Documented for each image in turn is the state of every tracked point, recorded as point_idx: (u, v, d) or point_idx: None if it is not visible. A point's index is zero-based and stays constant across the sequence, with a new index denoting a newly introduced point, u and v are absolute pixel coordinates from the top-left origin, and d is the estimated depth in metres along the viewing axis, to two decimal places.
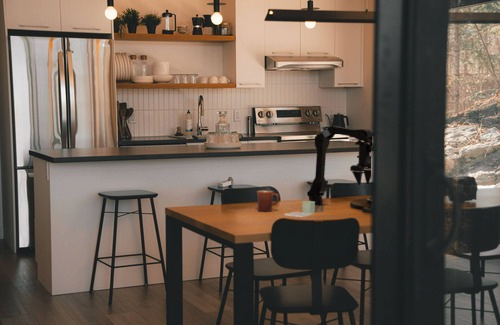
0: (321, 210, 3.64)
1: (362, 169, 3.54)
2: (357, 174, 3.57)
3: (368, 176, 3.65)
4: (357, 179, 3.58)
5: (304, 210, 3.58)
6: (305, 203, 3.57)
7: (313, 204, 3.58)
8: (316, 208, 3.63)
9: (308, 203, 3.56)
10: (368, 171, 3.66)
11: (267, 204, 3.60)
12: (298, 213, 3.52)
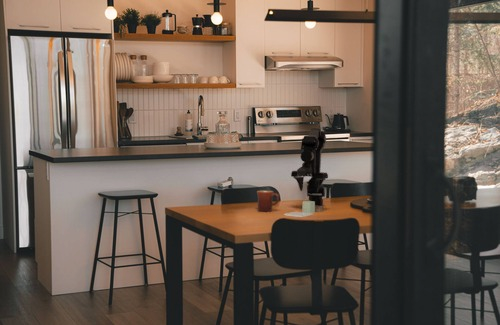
0: (321, 210, 3.64)
1: (293, 174, 3.60)
2: None
3: None
4: None
5: (304, 210, 3.58)
6: (305, 203, 3.57)
7: (313, 204, 3.58)
8: (316, 208, 3.63)
9: (308, 203, 3.56)
10: None
11: (267, 204, 3.60)
12: (298, 213, 3.52)
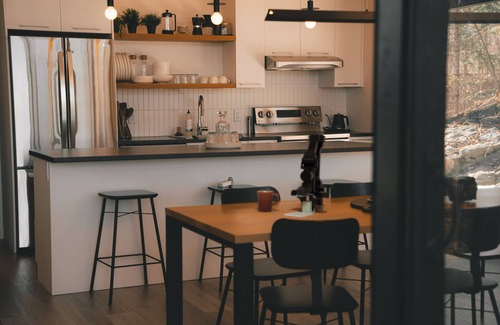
0: (321, 210, 3.65)
1: (293, 193, 3.60)
2: None
3: None
4: None
5: (304, 210, 3.58)
6: (305, 203, 3.57)
7: None
8: (316, 208, 3.63)
9: (308, 203, 3.56)
10: None
11: (267, 204, 3.60)
12: (298, 213, 3.52)
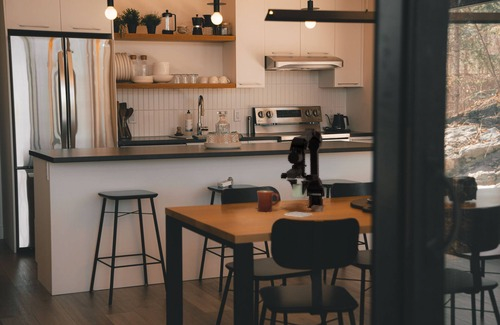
0: (321, 210, 3.65)
1: (283, 176, 3.52)
2: None
3: None
4: None
5: (294, 193, 3.50)
6: (295, 186, 3.49)
7: None
8: (316, 208, 3.63)
9: (298, 186, 3.48)
10: None
11: (267, 204, 3.60)
12: (298, 213, 3.52)
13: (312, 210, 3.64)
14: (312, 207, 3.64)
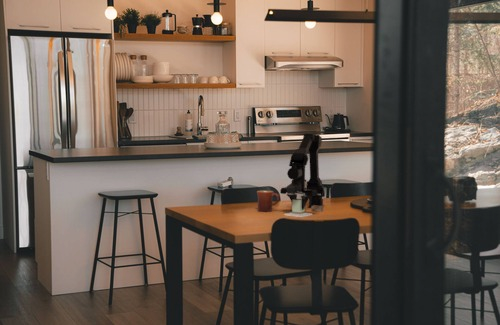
0: (321, 210, 3.65)
1: (282, 191, 3.53)
2: None
3: None
4: None
5: (294, 208, 3.50)
6: (295, 201, 3.49)
7: None
8: (317, 208, 3.63)
9: (298, 201, 3.48)
10: None
11: (267, 204, 3.60)
12: (298, 213, 3.52)
13: (312, 210, 3.64)
14: (312, 207, 3.64)
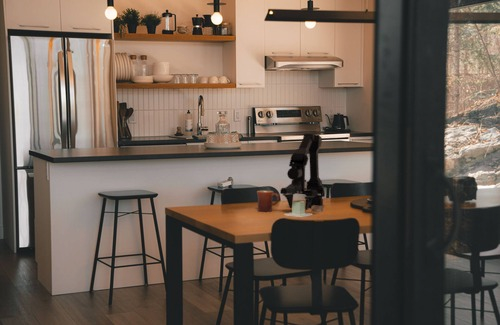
0: (321, 210, 3.65)
1: (282, 192, 3.53)
2: None
3: None
4: None
5: (294, 210, 3.50)
6: (295, 203, 3.50)
7: (303, 204, 3.51)
8: (317, 208, 3.63)
9: (298, 203, 3.49)
10: None
11: (267, 204, 3.60)
12: None
13: (312, 210, 3.64)
14: (312, 207, 3.64)
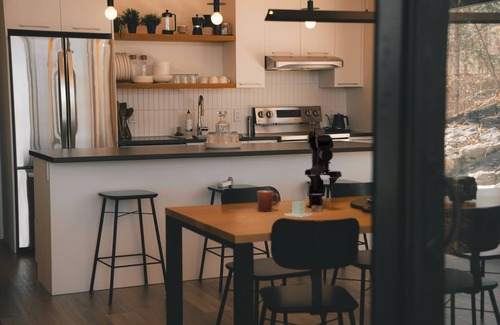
0: (321, 210, 3.65)
1: (307, 173, 3.60)
2: None
3: None
4: None
5: (294, 210, 3.50)
6: (295, 203, 3.50)
7: (303, 204, 3.51)
8: (317, 208, 3.63)
9: (298, 203, 3.49)
10: None
11: (267, 204, 3.60)
12: None
13: (312, 210, 3.64)
14: (312, 207, 3.64)
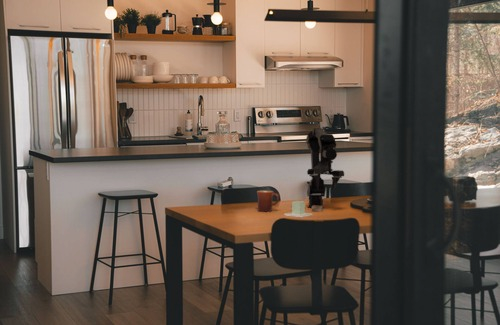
0: (321, 210, 3.65)
1: (309, 172, 3.61)
2: None
3: None
4: None
5: (294, 210, 3.50)
6: (295, 203, 3.50)
7: (303, 204, 3.51)
8: (317, 208, 3.63)
9: (298, 203, 3.49)
10: None
11: (267, 204, 3.60)
12: None
13: (312, 210, 3.64)
14: (312, 207, 3.64)
